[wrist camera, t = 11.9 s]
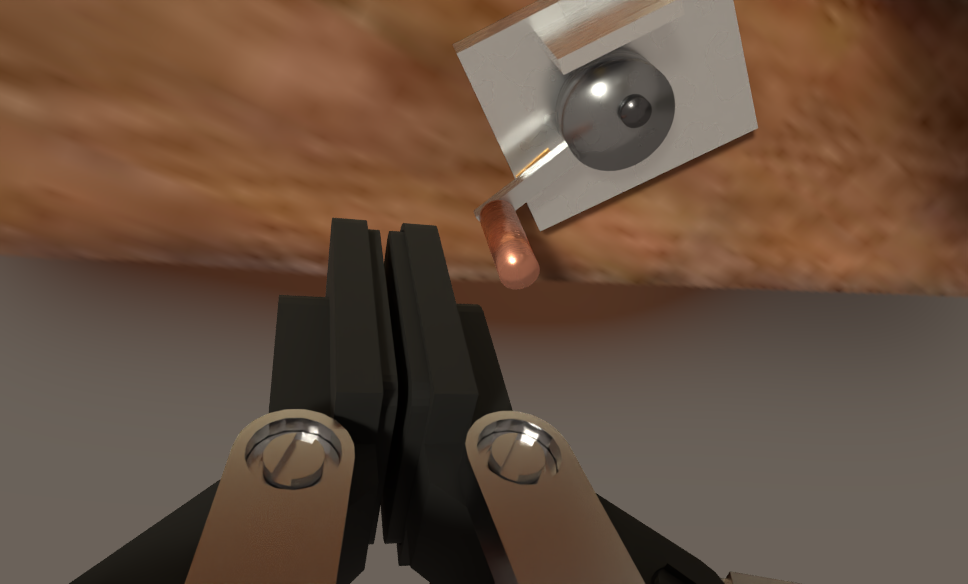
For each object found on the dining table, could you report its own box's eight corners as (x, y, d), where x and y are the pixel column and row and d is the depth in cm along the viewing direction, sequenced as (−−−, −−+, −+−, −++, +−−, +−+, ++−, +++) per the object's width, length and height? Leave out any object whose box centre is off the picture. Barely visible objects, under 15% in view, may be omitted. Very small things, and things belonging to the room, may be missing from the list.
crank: (628, 25, 36) (690, 76, 30) (680, 110, 39) (745, 171, 33) (443, 173, 39) (465, 246, 33) (506, 240, 42) (537, 318, 36)
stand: (704, -86, 35) (763, -64, 30) (745, 118, 42) (798, 160, 37) (452, 44, 36) (471, 84, 32) (534, 219, 44) (559, 272, 39)
